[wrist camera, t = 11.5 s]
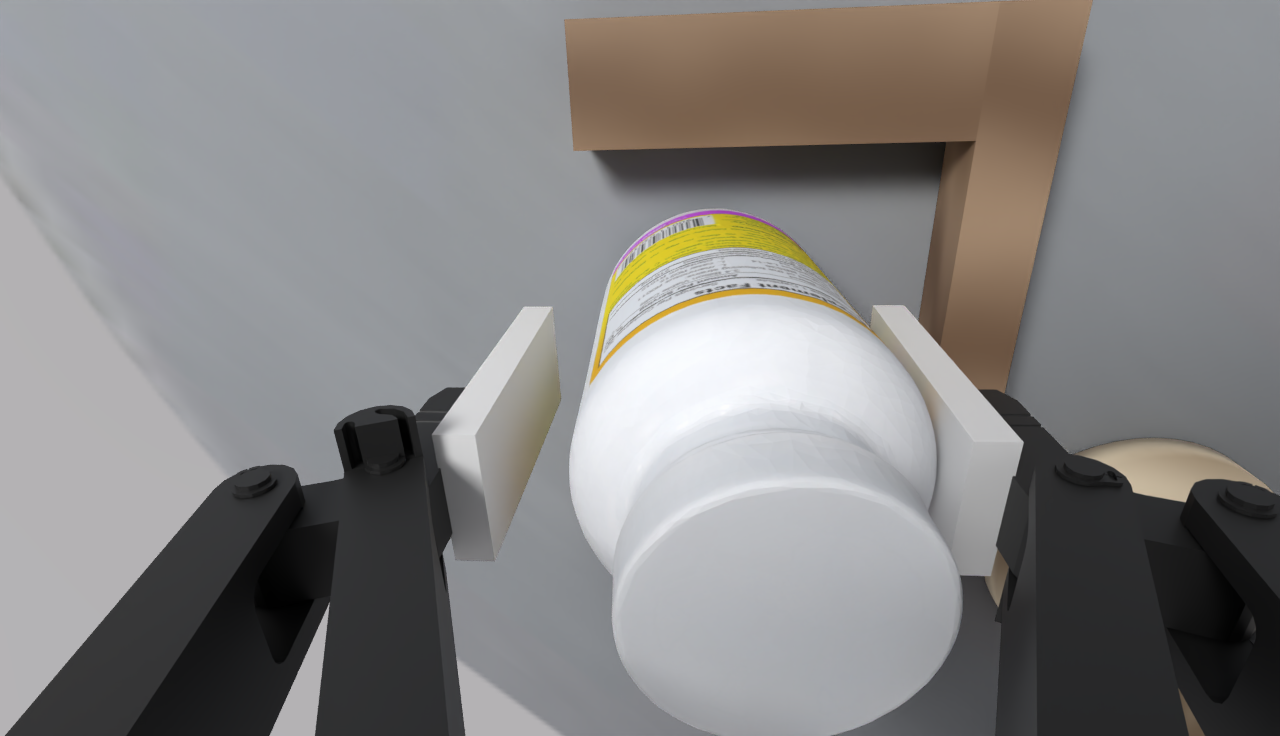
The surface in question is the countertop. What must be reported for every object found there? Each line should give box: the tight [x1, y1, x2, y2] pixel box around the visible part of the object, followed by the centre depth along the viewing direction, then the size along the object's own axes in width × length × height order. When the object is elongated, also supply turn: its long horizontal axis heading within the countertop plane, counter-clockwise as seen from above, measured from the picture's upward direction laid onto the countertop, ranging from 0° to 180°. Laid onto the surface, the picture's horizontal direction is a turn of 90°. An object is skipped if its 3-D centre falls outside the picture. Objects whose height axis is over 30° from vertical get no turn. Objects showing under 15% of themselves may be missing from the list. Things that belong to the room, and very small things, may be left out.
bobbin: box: [984, 438, 1273, 736], centre depth 18 cm, size 9×9×11 cm
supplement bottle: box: [569, 209, 963, 736], centre depth 14 cm, size 7×7×13 cm
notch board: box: [564, 0, 1093, 393], centre depth 19 cm, size 16×12×2 cm
